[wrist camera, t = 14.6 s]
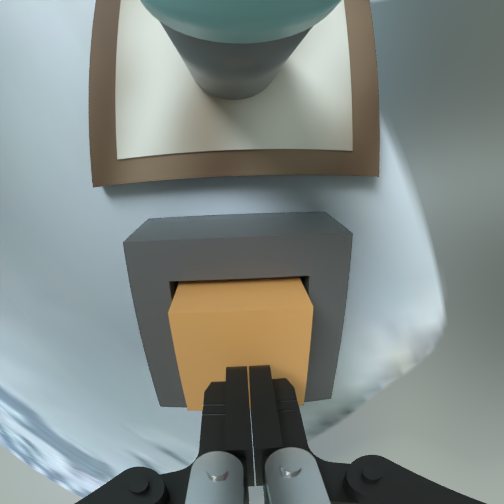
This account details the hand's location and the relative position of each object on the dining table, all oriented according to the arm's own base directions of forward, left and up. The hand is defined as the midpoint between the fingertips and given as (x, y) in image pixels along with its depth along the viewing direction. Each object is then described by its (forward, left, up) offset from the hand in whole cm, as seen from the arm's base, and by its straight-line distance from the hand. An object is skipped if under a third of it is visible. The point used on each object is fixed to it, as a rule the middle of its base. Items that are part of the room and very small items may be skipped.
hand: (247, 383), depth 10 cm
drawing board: (0, +12, -7) cm, 14 cm away
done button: (0, 0, -5) cm, 5 cm away
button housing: (0, 0, -7) cm, 7 cm away
